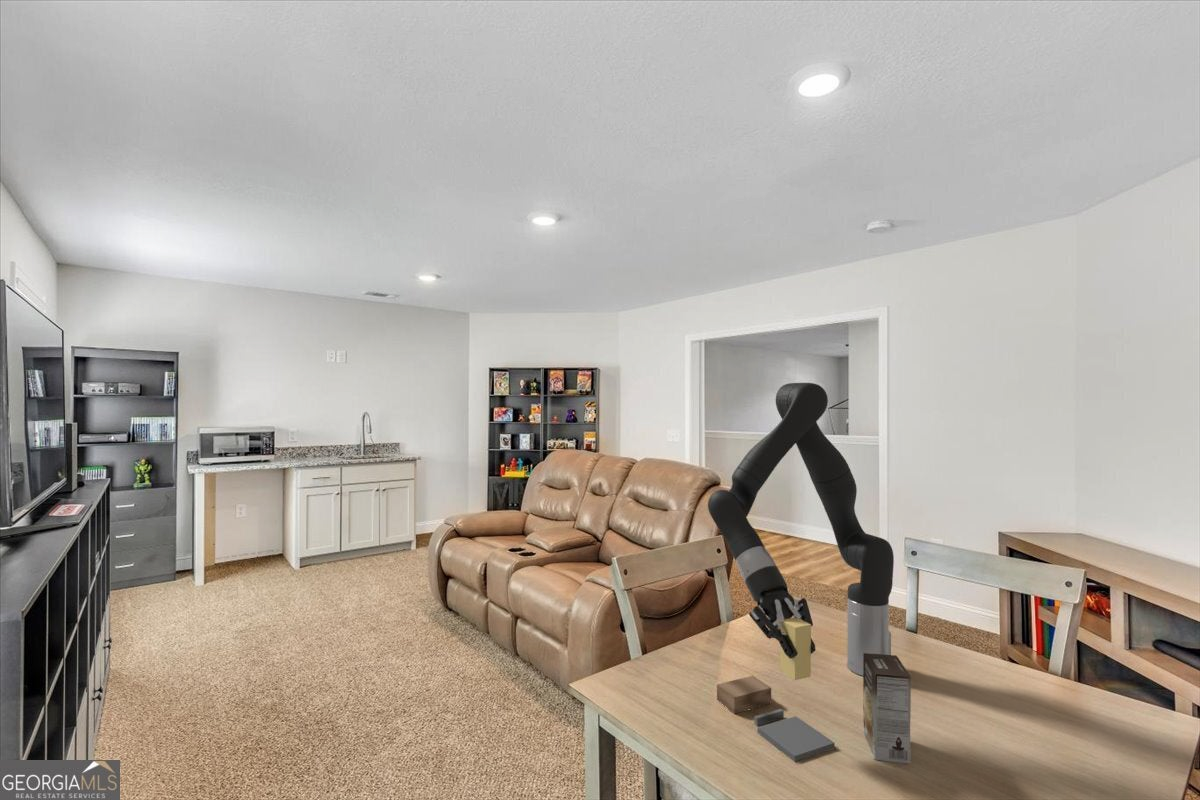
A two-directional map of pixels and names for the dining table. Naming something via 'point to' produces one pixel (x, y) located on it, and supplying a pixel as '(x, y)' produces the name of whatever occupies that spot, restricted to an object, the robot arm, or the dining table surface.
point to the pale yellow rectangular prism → (802, 643)
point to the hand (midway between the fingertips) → (802, 654)
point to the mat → (795, 738)
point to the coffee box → (886, 707)
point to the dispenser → (748, 698)
